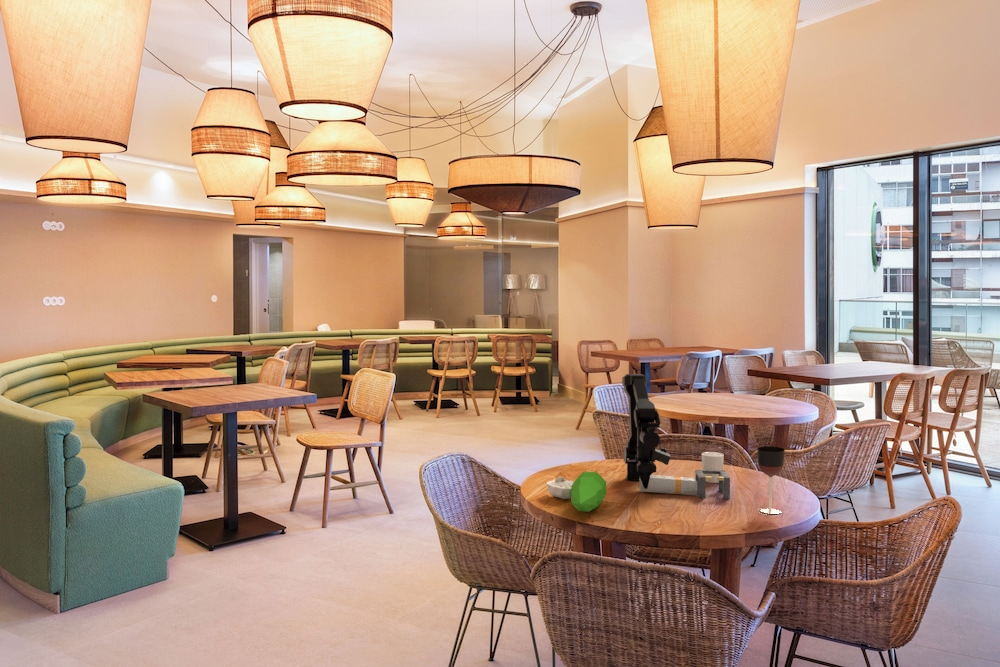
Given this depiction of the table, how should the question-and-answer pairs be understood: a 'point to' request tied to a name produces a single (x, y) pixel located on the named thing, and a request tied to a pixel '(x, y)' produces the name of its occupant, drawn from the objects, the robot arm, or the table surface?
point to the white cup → (712, 464)
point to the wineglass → (770, 468)
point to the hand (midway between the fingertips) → (645, 486)
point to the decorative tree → (588, 491)
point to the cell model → (560, 488)
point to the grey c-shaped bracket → (723, 479)
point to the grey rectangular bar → (671, 485)
